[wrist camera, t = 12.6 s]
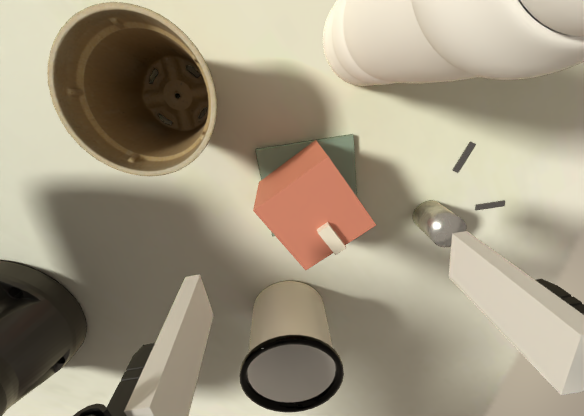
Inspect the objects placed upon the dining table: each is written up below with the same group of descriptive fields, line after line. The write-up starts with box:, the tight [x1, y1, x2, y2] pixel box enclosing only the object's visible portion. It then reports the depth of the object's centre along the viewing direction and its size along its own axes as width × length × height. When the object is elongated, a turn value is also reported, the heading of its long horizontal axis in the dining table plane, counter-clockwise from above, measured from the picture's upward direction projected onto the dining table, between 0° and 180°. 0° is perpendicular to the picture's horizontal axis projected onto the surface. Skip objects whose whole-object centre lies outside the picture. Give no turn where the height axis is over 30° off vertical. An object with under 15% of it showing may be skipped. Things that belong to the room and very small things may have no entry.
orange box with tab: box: [253, 140, 376, 270], centre depth 24 cm, size 7×7×8 cm
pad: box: [256, 134, 357, 236], centre depth 28 cm, size 9×9×1 cm
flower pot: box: [48, 2, 217, 176], centre depth 21 cm, size 9×9×9 cm
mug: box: [240, 281, 344, 412], centre depth 30 cm, size 12×10×9 cm
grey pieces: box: [413, 142, 505, 247], centre depth 27 cm, size 10×9×4 cm
